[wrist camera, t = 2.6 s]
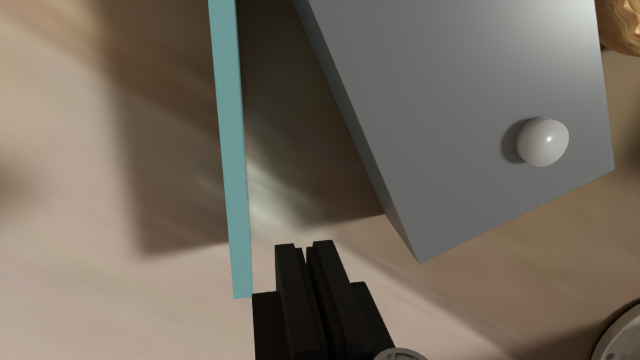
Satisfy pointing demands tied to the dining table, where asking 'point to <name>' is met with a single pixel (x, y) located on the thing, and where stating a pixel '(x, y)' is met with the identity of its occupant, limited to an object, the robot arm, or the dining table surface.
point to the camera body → (465, 106)
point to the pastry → (619, 25)
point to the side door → (232, 140)
